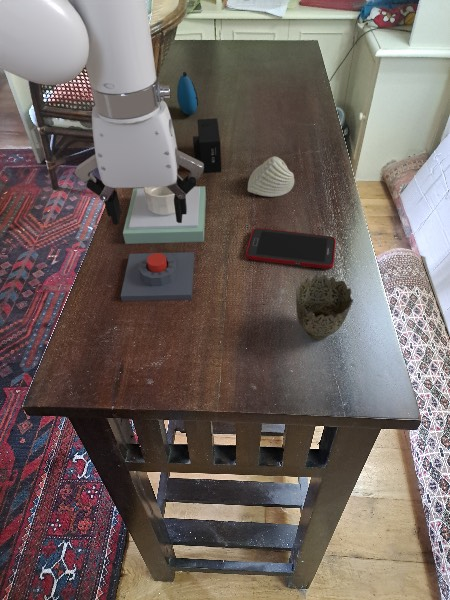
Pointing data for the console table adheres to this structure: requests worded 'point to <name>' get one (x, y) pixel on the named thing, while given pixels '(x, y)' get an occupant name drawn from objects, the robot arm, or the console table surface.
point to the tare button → (157, 262)
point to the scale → (165, 220)
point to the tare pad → (159, 278)
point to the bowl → (160, 200)
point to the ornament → (187, 95)
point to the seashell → (271, 179)
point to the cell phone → (291, 248)
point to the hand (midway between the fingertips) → (148, 217)
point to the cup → (322, 305)
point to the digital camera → (208, 145)
